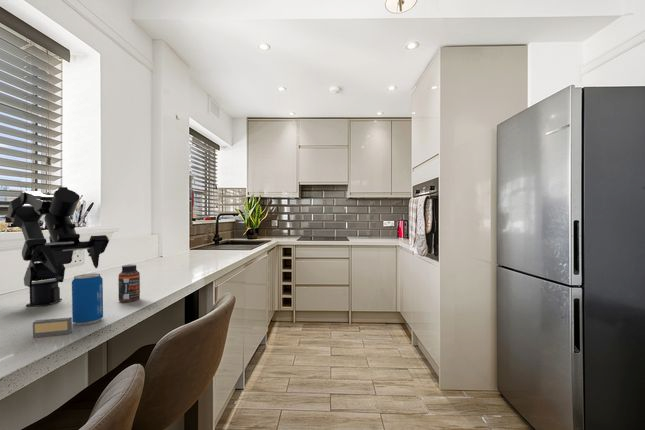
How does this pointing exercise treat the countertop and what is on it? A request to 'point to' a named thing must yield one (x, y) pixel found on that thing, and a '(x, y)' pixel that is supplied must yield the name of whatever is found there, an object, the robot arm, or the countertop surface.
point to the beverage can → (87, 299)
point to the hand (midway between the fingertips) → (77, 269)
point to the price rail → (52, 327)
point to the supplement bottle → (129, 284)
